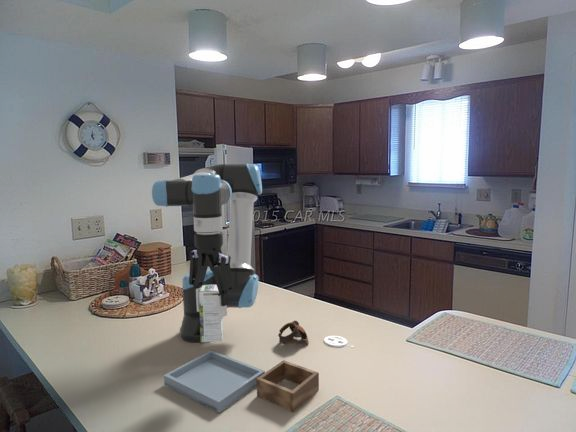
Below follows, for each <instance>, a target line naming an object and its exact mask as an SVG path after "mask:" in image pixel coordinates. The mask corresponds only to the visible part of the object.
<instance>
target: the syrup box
mask: <svg viewBox="0 0 576 432" xmlns="http://www.w3.org/2000/svg"><path fill="white" fill-rule="evenodd" d="M217 294H219V291H218V288H217V285H203V286H202V287H201V290H200V292H199V305H200V339H201V342H200V343H213V342H215V343H216V342H222V339H223V334H224V320H223V319H224V317H222V318H218V308H217Z"/></svg>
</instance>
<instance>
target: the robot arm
mask: <svg viewBox="0 0 576 432" xmlns="http://www.w3.org/2000/svg"><path fill="white" fill-rule="evenodd" d="M261 176H262V175H261V171H260V168H259V166H258V165H257V164H255V163H229V164H228V163H227V164H226V163H225V164H223V163H220V164H218V163H217V164H213V165H210V166H205V167H203V168H199V169H197V170H195V172H194V173H192V174H190V175H187V176H183V177H180V178H179V177H178V178H176V179H171V180H166V179H164V180H157V181H155V182H154V183H153V185H152V186H151V187H152V188H151V198H152V202H153V203H154V205H156V206H158V207H192V212H193V231H194V232H195V233H194V235H193V236H194V247H195V248H197V249H194V250H190V251H189V252H188V254H189V259H190V261H189V272H188V273H185V275H184V276H183V277H182V287H181V290H182V303H183V317H182V321H181V322H182V323H181V326H180V329H179V337H180V339H181V340H183V341H185V342H186V343H187V342H189V343H197V344H198V343H202V342H201V339H200V305H199V292H200V290H201V287H202V286H203V285H217V288H218V291H219V294H217V308H218V318H222V317H223V318H225V317H226V316H228V308H231V309H232V308H235V309H236V308H238V309H243V308H250V307H253V306H254V304H255V303H256V302H255V301H256V298H257V295H258V290H259V281H260V280H259V278H260V277H259V275H257V274H256V273H255V269H254V268H253V267H252V265H251V264H252V263H251V261H252V243H253V242H252V240H253V239H252V237H253V221H254V220H253V218H254V216H253V215H254V203H255V202H257V200H258V196H259V195H260V196H261V195H262V193H263V184H262V177H261ZM228 202H230V205H229V223H228V240H227V255H225V254H223V252H222V246H223V244H224V237H223V235H224V233H223V232H222V231H223V211H222V210H223V209H222V206H223V205H225V204H226V203H228Z"/></svg>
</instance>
